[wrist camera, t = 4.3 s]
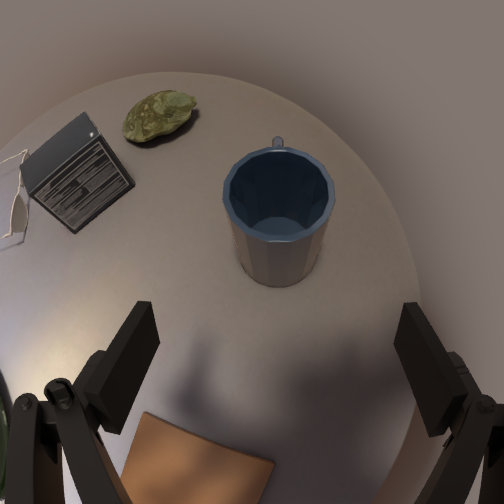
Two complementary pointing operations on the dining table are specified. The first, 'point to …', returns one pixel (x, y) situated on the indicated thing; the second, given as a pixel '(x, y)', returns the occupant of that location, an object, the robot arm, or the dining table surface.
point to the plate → (3, 447)
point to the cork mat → (189, 468)
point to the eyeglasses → (18, 206)
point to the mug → (278, 212)
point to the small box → (75, 174)
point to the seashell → (158, 115)
